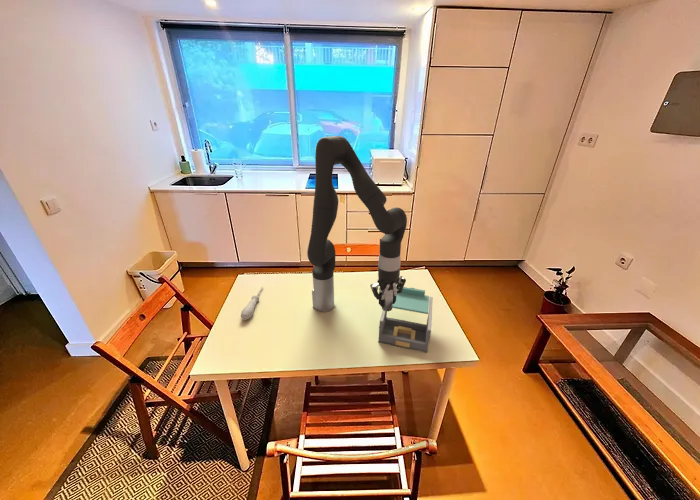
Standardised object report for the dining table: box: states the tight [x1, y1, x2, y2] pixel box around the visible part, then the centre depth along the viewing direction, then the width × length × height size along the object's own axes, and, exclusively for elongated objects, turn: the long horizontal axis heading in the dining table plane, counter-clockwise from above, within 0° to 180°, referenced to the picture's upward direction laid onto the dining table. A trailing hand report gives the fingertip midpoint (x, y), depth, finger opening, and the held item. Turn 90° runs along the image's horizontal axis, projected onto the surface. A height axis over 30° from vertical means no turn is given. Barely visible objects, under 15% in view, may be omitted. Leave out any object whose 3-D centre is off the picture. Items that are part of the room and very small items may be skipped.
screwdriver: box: [240, 286, 264, 321], centre depth 135 cm, size 5×25×4 cm, turn 177°
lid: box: [392, 286, 430, 315], centre depth 119 cm, size 16×11×3 cm
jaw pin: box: [381, 289, 393, 312], centre depth 107 cm, size 4×4×9 cm
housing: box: [377, 296, 434, 353], centre depth 119 cm, size 19×20×12 cm
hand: (387, 304), depth 108 cm, fingers closed on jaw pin, 4 cm apart
